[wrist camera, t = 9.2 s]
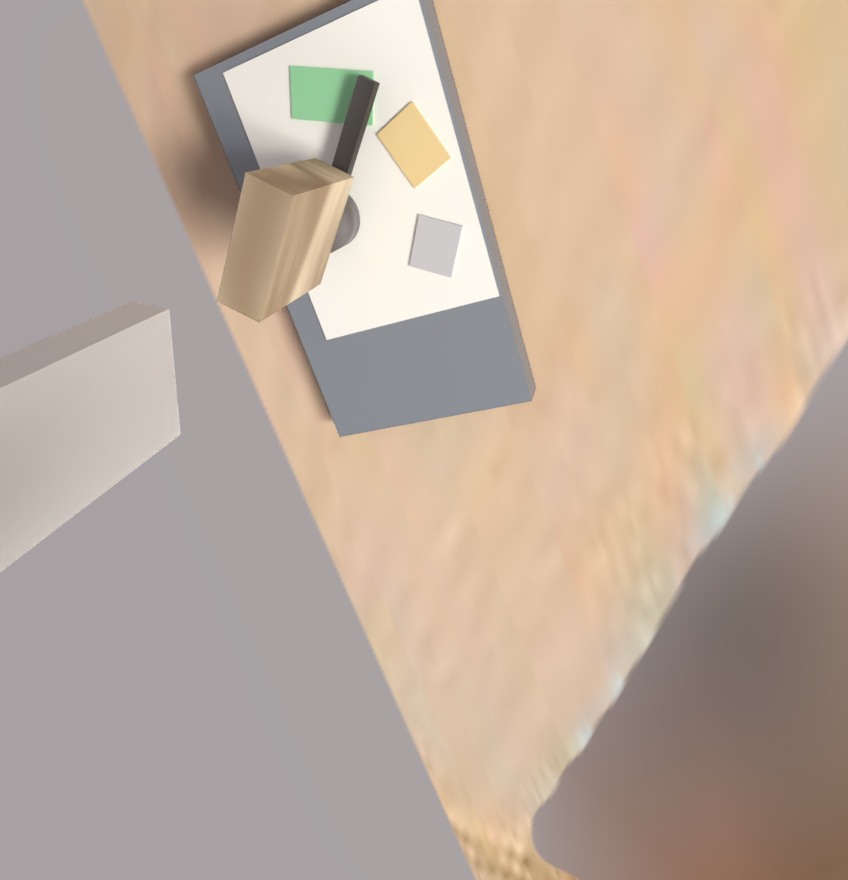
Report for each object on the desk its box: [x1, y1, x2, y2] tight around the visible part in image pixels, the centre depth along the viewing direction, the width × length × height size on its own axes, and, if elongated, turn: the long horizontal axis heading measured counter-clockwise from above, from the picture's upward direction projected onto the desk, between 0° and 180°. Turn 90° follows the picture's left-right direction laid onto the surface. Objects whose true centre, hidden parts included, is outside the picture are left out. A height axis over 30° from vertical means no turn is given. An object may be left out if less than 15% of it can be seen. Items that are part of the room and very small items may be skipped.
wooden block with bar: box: [217, 75, 380, 322], centre depth 31 cm, size 3×10×9 cm, turn 158°
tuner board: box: [194, 0, 536, 437], centre depth 37 cm, size 22×13×2 cm, turn 18°
